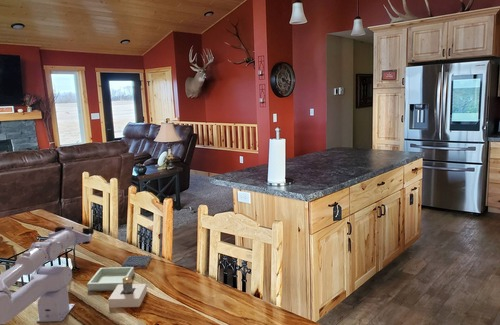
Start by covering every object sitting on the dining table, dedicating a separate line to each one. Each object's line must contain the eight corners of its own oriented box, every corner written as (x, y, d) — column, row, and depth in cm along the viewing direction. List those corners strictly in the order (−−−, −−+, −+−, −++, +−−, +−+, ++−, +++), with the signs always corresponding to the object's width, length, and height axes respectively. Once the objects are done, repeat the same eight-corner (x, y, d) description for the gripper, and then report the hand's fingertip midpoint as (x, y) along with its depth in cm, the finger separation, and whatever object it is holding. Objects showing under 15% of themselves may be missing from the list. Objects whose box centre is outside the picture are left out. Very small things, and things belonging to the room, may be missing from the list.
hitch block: (139, 306, 128) (138, 298, 127) (109, 307, 128) (108, 299, 127) (146, 291, 138) (146, 283, 137) (118, 292, 138) (118, 284, 137)
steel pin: (131, 301, 131) (130, 280, 130) (122, 301, 131) (121, 280, 130) (134, 297, 134) (132, 276, 133) (125, 297, 134) (124, 276, 133)
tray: (124, 290, 139) (123, 282, 138) (87, 291, 139) (87, 283, 138) (134, 273, 152) (133, 266, 151) (101, 274, 152) (100, 267, 151)
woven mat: (120, 270, 156) (120, 265, 156) (128, 259, 166) (128, 254, 166) (146, 270, 156) (145, 265, 156) (152, 258, 166) (152, 254, 166)
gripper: (81, 231, 127) (101, 219, 140) (39, 229, 128) (63, 218, 141) (82, 251, 128) (101, 238, 141) (40, 249, 129) (64, 237, 142)
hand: (82, 229), depth 141 cm, fingers open, 7 cm apart
